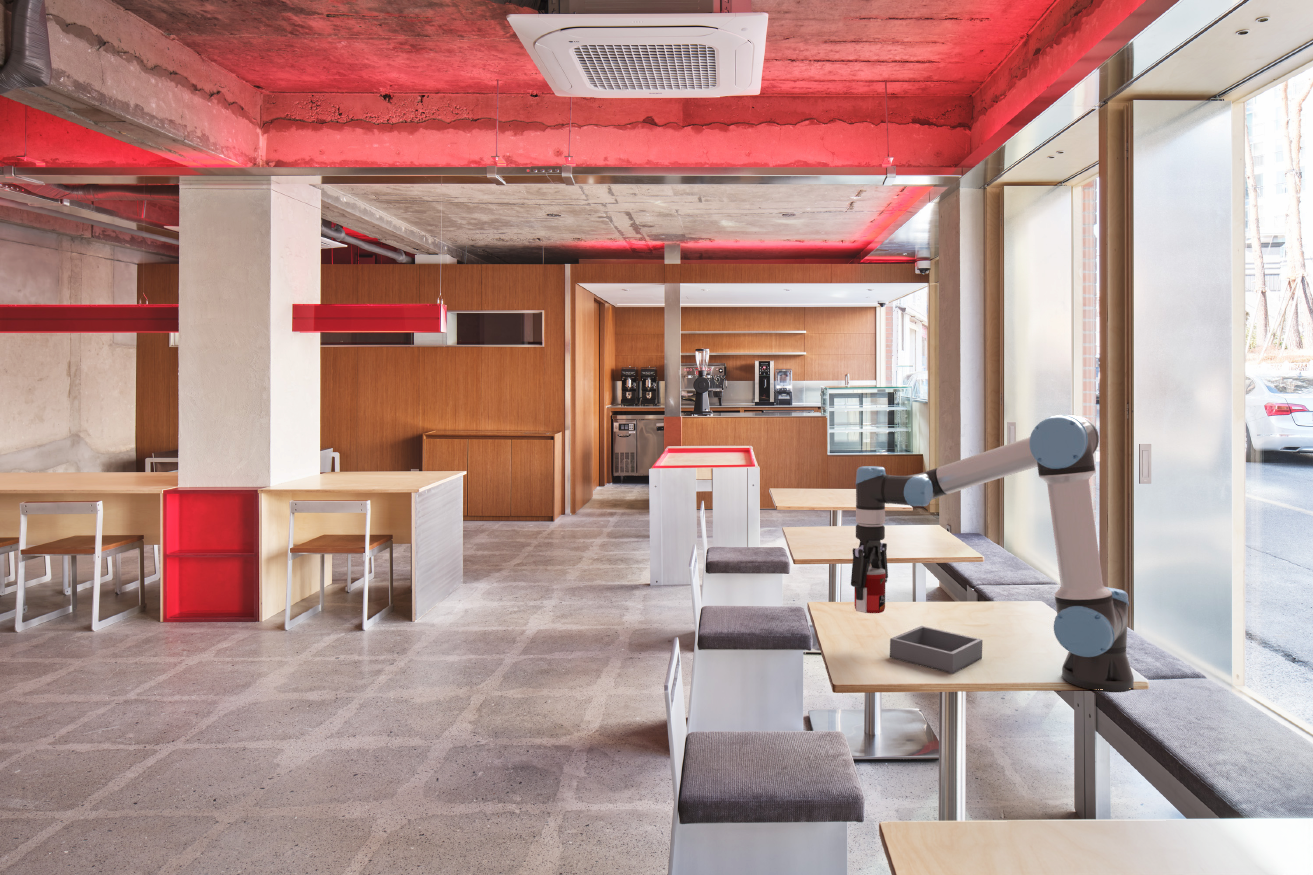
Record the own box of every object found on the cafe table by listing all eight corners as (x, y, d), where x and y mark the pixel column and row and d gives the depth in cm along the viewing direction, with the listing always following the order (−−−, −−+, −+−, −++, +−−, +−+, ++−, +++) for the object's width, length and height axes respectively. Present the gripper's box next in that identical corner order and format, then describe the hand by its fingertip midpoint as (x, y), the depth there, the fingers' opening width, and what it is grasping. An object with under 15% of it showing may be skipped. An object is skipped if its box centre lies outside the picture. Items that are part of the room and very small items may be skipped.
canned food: (886, 614, 211) (886, 572, 211) (854, 612, 213) (855, 571, 212) (884, 607, 219) (884, 566, 218) (853, 605, 220) (854, 565, 220)
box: (981, 658, 210) (982, 639, 210) (952, 673, 198) (953, 653, 198) (921, 643, 222) (921, 625, 222) (889, 657, 210) (890, 638, 210)
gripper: (877, 518, 225) (876, 599, 226) (836, 527, 210) (836, 613, 211) (902, 521, 219) (901, 604, 220) (862, 530, 205) (861, 618, 206)
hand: (869, 608), depth 216 cm, fingers closed on canned food, 8 cm apart
